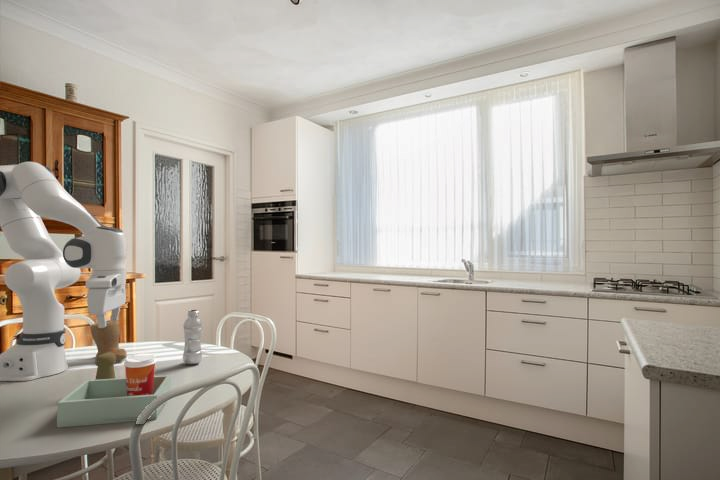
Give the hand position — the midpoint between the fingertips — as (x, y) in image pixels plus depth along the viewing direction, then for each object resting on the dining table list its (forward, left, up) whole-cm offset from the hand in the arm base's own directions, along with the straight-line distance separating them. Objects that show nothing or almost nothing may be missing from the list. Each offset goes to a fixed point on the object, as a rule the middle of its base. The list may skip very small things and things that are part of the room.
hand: (108, 324), depth 117 cm
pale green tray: (+9, -16, -20) cm, 27 cm away
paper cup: (+14, -16, -20) cm, 29 cm away
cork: (0, 0, -20) cm, 20 cm away
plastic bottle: (+21, +23, -20) cm, 37 cm away
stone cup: (-11, +35, -20) cm, 42 cm away
